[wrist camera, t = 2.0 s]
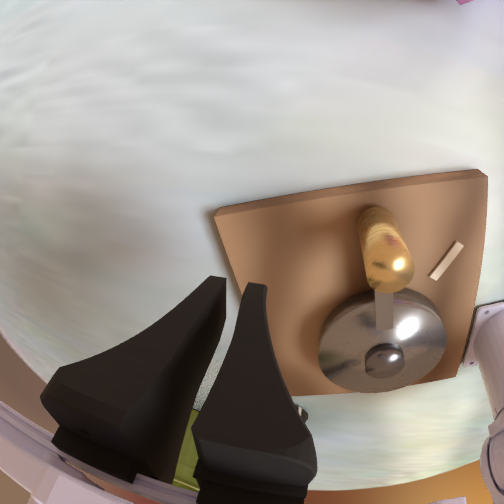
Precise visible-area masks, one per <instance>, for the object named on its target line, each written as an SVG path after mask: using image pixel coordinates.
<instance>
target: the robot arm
mask: <svg viewBox="0 0 504 504" xmlns="http://www.w3.org/2000/svg"><path fill="white" fill-rule="evenodd" d="M267 289H268V287H267V286H266V285H265V284H258V283H252V282H248V284H247V286H246V288H245V290H244V292H243V295H242V299H241V304H240V308H239V313H238V317H237V322H236V326H235V330H234V334H233V338H232V341H231V344H230V346H229V349H228V351H227V354H226V356H225V359H224V361H223V364H222V366H221V368H220V371H219V373H218V375H217V378H216V380H215V382H214V384H213V386H212V388H211V390H210V392H209V394H208V397H207V399H206V401H205V402H204V404H203V406H202V408H201V410H200V412H199V414H198V416H197V417H196V419H195V421H194V423H193V425H192V426H191V431H192V435H193V439H194V443H195V446H196V450H197V454H198V461H197V464H196V467H195V470H194V473H193V478H195V479H196V480H197V483H198V485H199V488H200V490H199V493H198V492H195V491H191V490H187V489H184V488H180V487H177V486H174V485H171V484H173V481H174V476H175V472H176V468H177V463H178V459H179V455H180V451H181V447H182V444H183V440H184V436H185V432H186V429H187V425H188V422H189V418H190V415H191V412H192V408H193V405H194V402H195V398H196V395H197V393H198V390H199V387H200V385H201V383H202V380H203V378H204V376H205V373H206V371H207V369H208V366H209V364H210V362H211V360H212V357H213V355H214V353H215V350H216V348H217V346H218V343H219V341H220V337H221V334H222V331H223V327H224V324H225V320H226V278H222V277H216V276H209V277H208V278H207V279H206V280H205V281H204V282H203V283H201V284H200V285H199V286H198V287H197V288H196V289H195V290H194V291H193V292H192V293H191V294H190V295H189V296H187V297H186V298H185V299H184V300H183V301H182V302H181V303H179V304H178V305H177V306H176V307H175V308H174V309H172V310H171V311H170V312H168V313H167V314H166V315H165V316H163V317H162V318H161V319H159V320H158V321H157V322H155V323H154V324H153V325H151V326H150V327H148V328H147V329H145V330H144V331H142V332H140V333H139V334H137V335H136V336H134V337H132V338H130V339H129V340H127V341H125V342H123V343H121V344H119V345H117V346H115V347H113V348H111V349H109V350H107V351H105V352H102V353H100V354H98V355H95V356H93V357H90V358H87V359H85V360H82V361H79V362H75V363H72V364H69V365H66V366H62V367H59V369H58V370H57V371H56V372H55V374H54V375H53V377H52V378H51V380H50V381H49V383H48V384H47V386H46V388H45V389H44V391H43V392H42V394H41V396H40V399H41V402H42V404H43V406H44V407H45V408H46V410H47V411H48V412H49V413H50V415H51V416H52V417H53V418H54V419H55V421H56V422H57V423H58V424H59V425H60V426H59V428H58V429H57V431H56V433H55V435H54V434H52V433H50V432H49V431H47V430H45V429H43V428H42V427H40V426H38V425H37V424H35V423H33V422H32V421H30V420H29V419H27V418H25V417H24V416H22V415H21V414H19V413H18V412H16V411H14V410H13V409H12V408H10V407H9V406H7V405H6V404H4V403H3V402H1V401H0V469H1V470H2V471H3V472H4V473H6V474H7V475H8V476H10V477H11V478H12V479H13V480H14V481H15V482H17V483H18V484H19V485H21V486H22V487H23V488H25V489H26V490H27V491H29V492H30V493H31V496H30V498H29V501H28V503H27V504H134V503H132V502H129V501H127V500H124V499H122V498H119V497H117V496H115V495H112V494H110V493H108V492H105V490H104V489H103V488H101V487H100V486H98V485H97V484H95V483H94V482H92V481H91V480H90V479H88V478H87V477H86V476H85V475H84V474H83V473H82V472H80V471H78V470H77V469H75V468H73V467H72V466H70V465H69V464H71V465H73V466H75V467H77V468H79V469H81V470H83V471H85V472H87V473H89V474H91V475H93V476H95V477H97V478H100V479H102V480H104V481H106V482H108V483H110V484H113V485H115V486H118V487H120V488H122V489H125V490H127V491H130V492H132V493H135V494H137V495H140V496H143V497H145V498H148V499H151V500H154V501H157V502H160V503H163V504H304V498H305V497H306V495H307V489H308V484H309V483H310V482H311V481H312V480H313V478H314V477H315V476H316V473H317V457H316V451H315V447H314V442H313V438H312V435H311V433H310V431H309V430H308V428H307V426H306V425H305V423H304V421H303V419H302V418H301V416H300V414H299V412H298V410H297V408H296V406H295V404H294V402H293V400H292V398H291V396H290V394H289V391H288V389H287V387H286V384H285V382H284V380H283V377H282V374H281V372H280V369H279V366H278V363H277V360H276V357H275V353H274V349H273V345H272V341H271V337H270V332H269V326H268V320H267V312H266V298H267ZM477 364H478V365H479V368H480V371H481V374H482V378H483V381H484V384H485V388H486V391H487V395H488V398H489V402H490V406H491V410H492V414H493V418H494V422H493V423H491V424H490V425H489V426H488V428H489V433H490V436H489V437H488V438H487V439H486V440H485V442H484V444H483V447H482V452H481V456H480V469H481V474H482V478H483V481H484V483H485V485H486V487H487V488H488V490H489V492H490V494H491V497H492V500H493V504H504V302H500V303H496V304H491V305H486V306H482V307H479V308H478V309H477V311H476V314H475V318H474V323H473V327H472V331H471V335H470V339H469V342H468V346H467V349H466V353H465V356H464V360H463V366H464V367H468V366H473V365H477ZM65 461H66V462H68V463H69V464H67V463H66V462H65ZM429 504H466V497H464V496H463V497H458V498H452V499H446V500H440V501H436V502H432V503H429Z"/></svg>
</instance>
